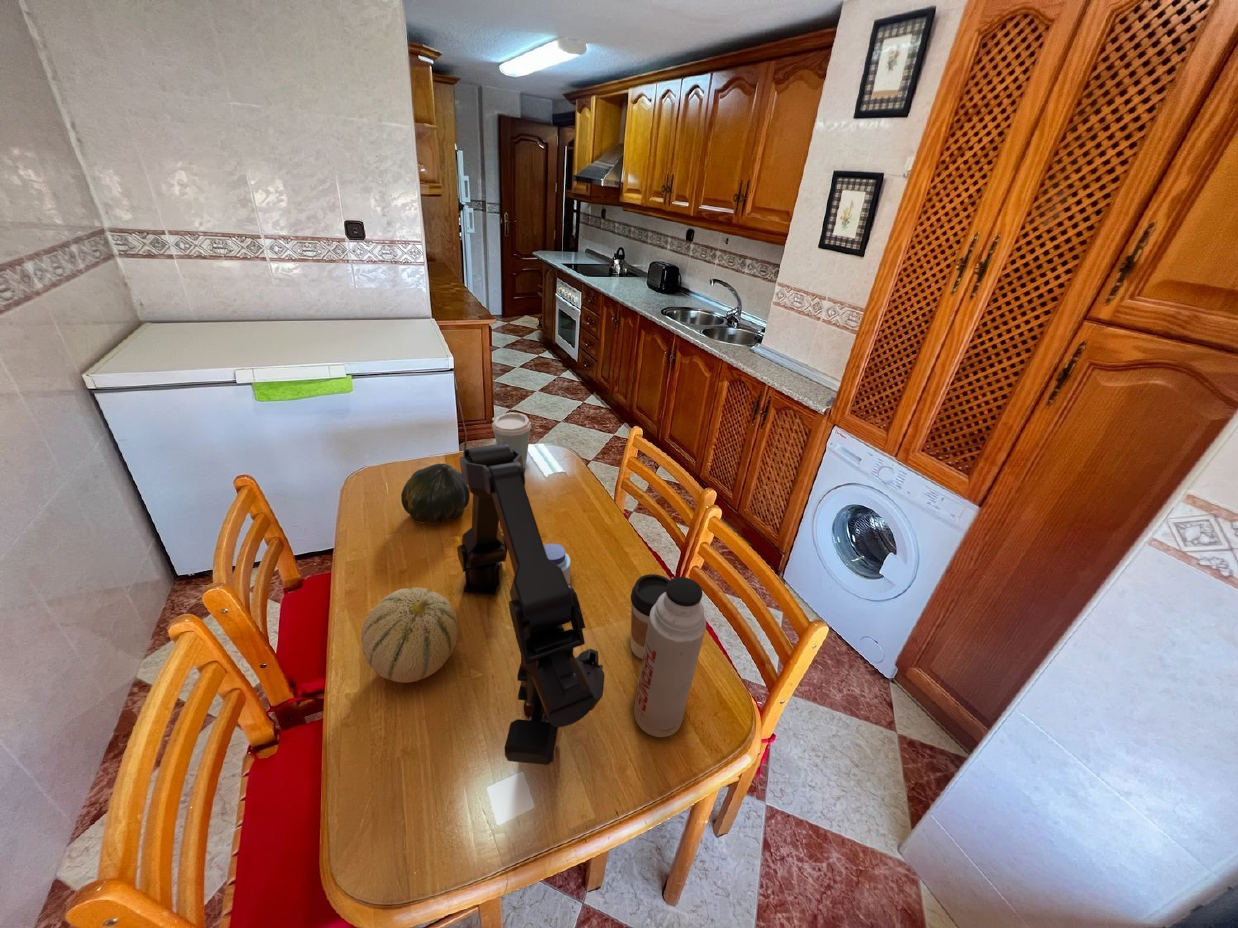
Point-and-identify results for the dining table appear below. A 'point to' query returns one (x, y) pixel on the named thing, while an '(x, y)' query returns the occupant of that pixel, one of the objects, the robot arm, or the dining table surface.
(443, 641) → the cantaloupe
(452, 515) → the squash
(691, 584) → the thermos bottle
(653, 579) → the coffee cup
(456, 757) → the dining table surface
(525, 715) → the cup
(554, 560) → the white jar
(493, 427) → the disposable coffee cup
